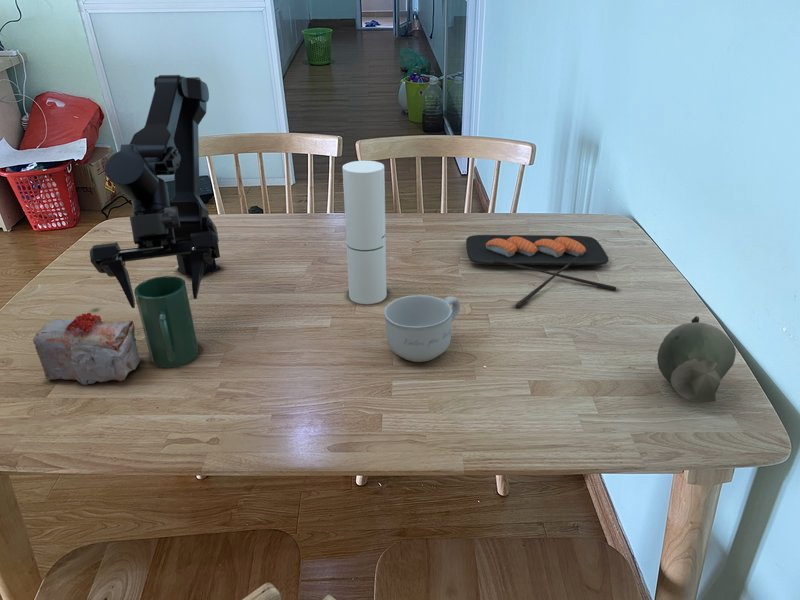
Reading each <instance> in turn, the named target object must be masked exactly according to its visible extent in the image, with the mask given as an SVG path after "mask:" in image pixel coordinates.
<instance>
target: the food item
mask: <svg viewBox="0 0 800 600" xmlns="http://www.w3.org/2000/svg"><path fill="white" fill-rule="evenodd" d="M135 329H136V328H135V324H134V320H102V318H101V315H97V314H94V315H93V314H92V313H91V312H87V313H82V314H81V315H80V314H79V315H76V316H75V318H74V319H68V318H67V319H62V318H55V319H53V320H50V321H49V322H47V323H45V324H44V326H43V327H42V328H40V329H39V330H38V331H37V332H36V334H35V335H34V337H33V338H32V339H33V340H32V342H33V345H34V346H35V351H36V354H37V356H38V359H39V361H40V364H41V367H42V369H43V373H44V376H45V379H46V380H47V381H52V380H54V381H56V380H74V381H75V380H76V381H77V382H79V383H80V384H81V385H84V386H87V385H89V384H91V385H92V384H95V383H97V382H100V383H103V382H108V381H118V382H123V380H124V381H125V380H126V378H127V376H128V374H130V373H131V372H132V371H135V370H136V369H137V367H138V366H139V364H140V362H141V358H140V354H139V349H138V345H137V339H136V335H135V331H136V330H135Z"/></svg>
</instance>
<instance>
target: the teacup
mask: <svg viewBox="0 0 800 600" xmlns="http://www.w3.org/2000/svg"><path fill="white" fill-rule="evenodd" d="M460 310H461V303H460V300H459V299H458V298H457V297H455V296H452V295H449V296H447V297H445V298H444V299H442V298H440V297H437V296H433V295H429V294H428V295H427V294H413V295H407V296H402V297H399V298H396V299H394V300H392V301H390V302H389V303H387V304H386V306H385V307H384V309H383V317H384V322H385V333H386V340H387V345H388V347H389V348H390V349H391V351H392V352H393V353H394V354H395V355H397V356H399V357H400V358H402V359H404V360H406V361H409V362H413V363H423V362H429V361H432V360H434V359H436V358H438V357H439V356H440V355H441V354H442V353H444V352H446V350H447V349H448V348H449V346H450V343H451V340H452V331H453V330H452V329H453V328H452V327H453V324H452V323H453V322H454V321H455V319H456V318H457V316H458V315H459V313H460Z"/></svg>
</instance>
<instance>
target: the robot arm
mask: <svg viewBox="0 0 800 600" xmlns="http://www.w3.org/2000/svg"><path fill="white" fill-rule="evenodd" d="M153 86H154V91H153V95H152V99H151V103H150V106H149V110H148V113H147V117H146V120H145V125H144V127H143V128H141V129H140V130H138V131H136V132H134V134H133V135H132V137H131V140H130V142H129V144H127V143H126V144H124V143H123V144H121V145H120V149H119V151H117V152H115V153H114V154H112V155H111V156H110V157H109V159H108V160H107V162H106V163H105V165H104V172H105V175H106V177H107V178H108V179H109V181H110V182H111V183H112V184H113V185H114V186H115V187H116V188H117V189H119V191H120V192H121V194H123V195H124V196H125V197H127V198H128V199H129V200H131V206H132V214H133V215H132V216H129V221H130V227H131V233H132V238H133V239H132V240H133V243H134V245H137V247H132V248H125V249H124V248H123V249H121V246H120V245H119V244H118V242H110V243H101V244H100V243H99V244H93V246H91V248H90V249H89V259H90V263H91V264H92V265H93V267H94V268H95V269H96V271H97V272H98V273H99V274H106V275H107V277H109V278H113V277H114V278H115V279H116V280H117V281H118V283H119V286H120V287H121V289H122V291H123V293H124V295H125V297H126V299H127V301H128V303H129V306H130V307H131V309H135V308H136V303H135V301H136V299H135V294H134V292H133V291H134V290H133V287H132V283H131V278H130V274H129V271H128V269H127V268H126V263H127V262H135V261H142V260H149V259H150V260H151V259H156V258H165V257H173V256H176V260H177V268H176V269H177V271H178V272H179V273H181V274H183V275H185V276H187V277H189V278H190V279H191V291H192V297H193V300H197V299H198V295H199V290H200V286H201V281H202V278H203V277H204V276H206V275H209V274H211V273H214V272H218V271H219V270H221V269H222V267H221V265H219V264H217V261H216V259H219V258H221V253H220V247H219V233H218V228H217V226H216V225H215V223H214V222H213V220H212V218H211V217H210V214H209V210H208V208H207V206H206V205H205V203H204V202H203V200H202V199H201V196H200V195H201V194H200V192H201V191H200V152H199V151H200V149H199V145H200V144H199V125H200V123H201V122H202V120H203V119H204V117H205V116H206V114H207V103H208V102H209V100H210V92H209V87H208V84H207V83H206V82H205V81H202V80H201V78H200V77H199V76H192V77H191V76H187V77H185V76H184V75H180V74H159V75H158V76H155V77H154V79H153ZM159 176H173V177H174V178H173V179H174V183H173V184H174V195H173V196H172V198H171V200H170V193H169V188H168V187H169V186H168V183H167V182H166V181H165V180H164V179H163V178H161V177H159Z"/></svg>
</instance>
